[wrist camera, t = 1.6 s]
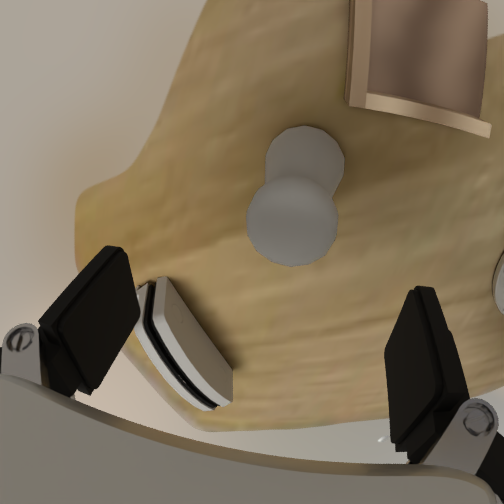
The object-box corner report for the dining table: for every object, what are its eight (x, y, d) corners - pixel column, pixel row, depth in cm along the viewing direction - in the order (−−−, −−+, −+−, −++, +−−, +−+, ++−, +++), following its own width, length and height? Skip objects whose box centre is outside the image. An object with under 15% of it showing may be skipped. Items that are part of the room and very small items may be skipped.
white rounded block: (134, 283, 37) (114, 336, 28) (167, 267, 36) (154, 319, 27) (203, 374, 44) (203, 429, 35) (232, 362, 43) (238, 419, 34)
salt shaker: (351, 132, 23) (375, 194, 12) (332, 197, 26) (334, 299, 15) (277, 113, 23) (235, 157, 13) (264, 179, 27) (218, 269, 16)
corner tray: (482, 5, 14) (511, -3, 10) (472, 127, 20) (500, 142, 16) (349, -31, 16) (355, -53, 12) (343, 98, 22) (349, 105, 18)
